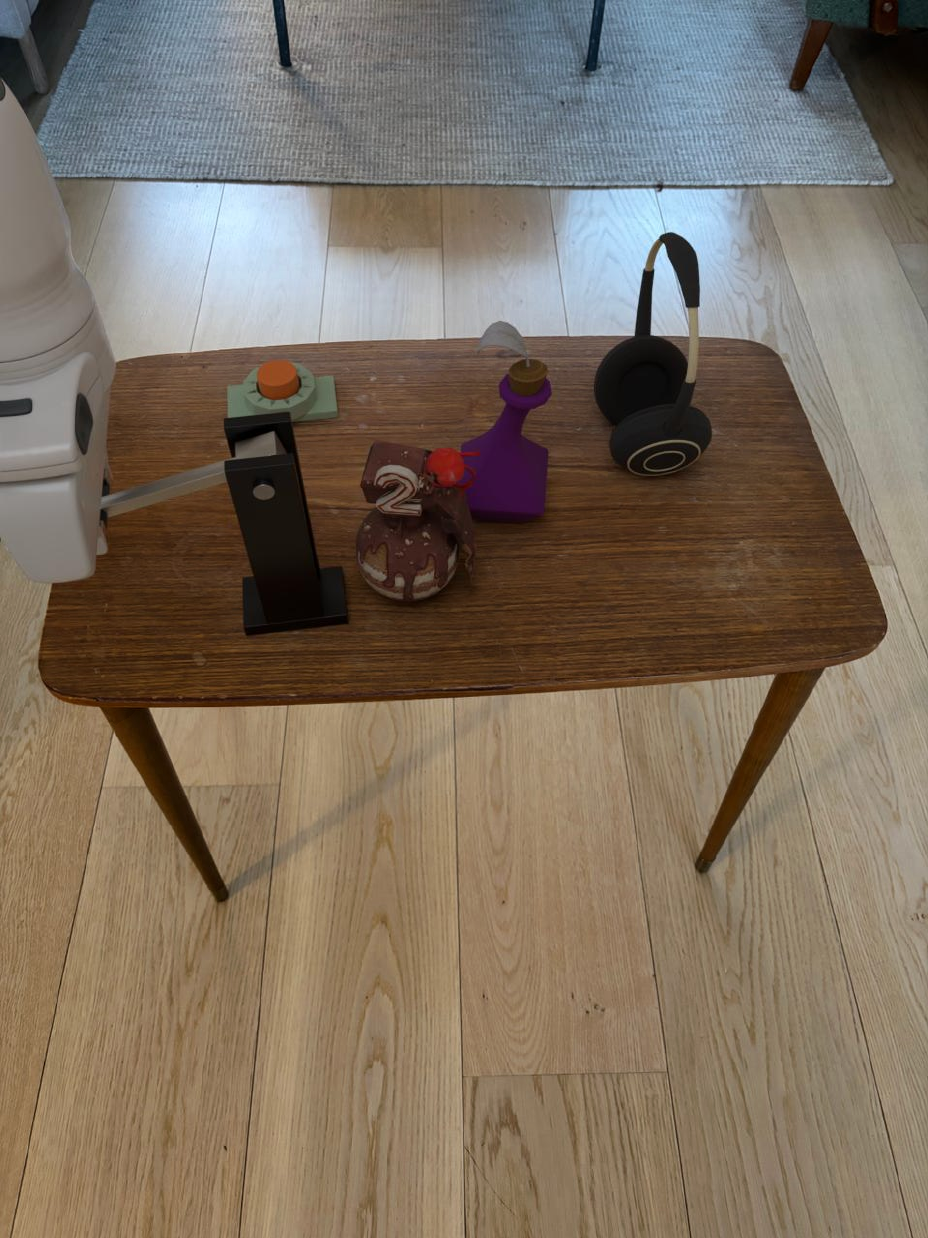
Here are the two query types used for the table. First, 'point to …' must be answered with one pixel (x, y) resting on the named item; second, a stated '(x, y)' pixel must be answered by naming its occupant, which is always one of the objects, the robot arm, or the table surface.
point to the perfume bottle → (509, 442)
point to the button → (278, 380)
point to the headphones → (655, 380)
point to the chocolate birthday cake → (414, 520)
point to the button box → (305, 405)
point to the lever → (184, 479)
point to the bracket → (279, 536)
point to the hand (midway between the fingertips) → (98, 518)
